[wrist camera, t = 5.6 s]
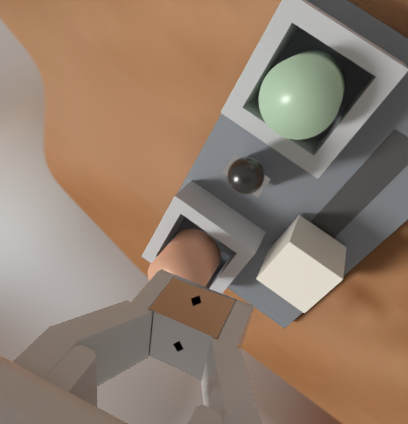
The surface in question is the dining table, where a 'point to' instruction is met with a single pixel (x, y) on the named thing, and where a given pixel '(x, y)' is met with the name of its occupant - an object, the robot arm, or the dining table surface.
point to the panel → (303, 154)
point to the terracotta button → (189, 257)
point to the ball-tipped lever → (246, 175)
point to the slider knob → (303, 264)
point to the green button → (302, 94)
